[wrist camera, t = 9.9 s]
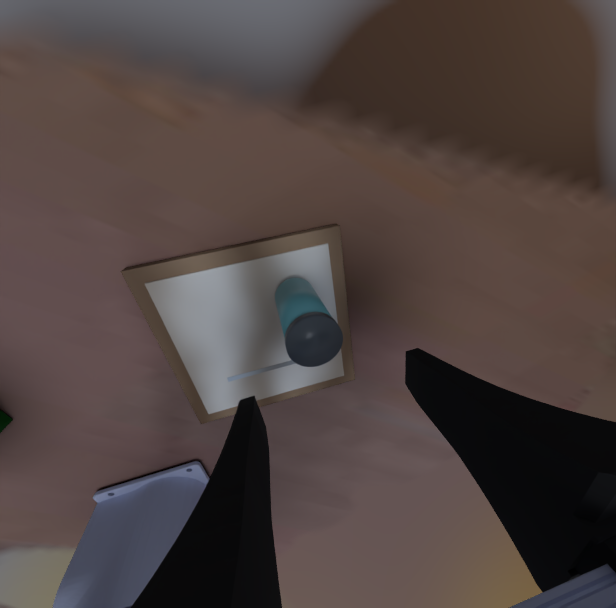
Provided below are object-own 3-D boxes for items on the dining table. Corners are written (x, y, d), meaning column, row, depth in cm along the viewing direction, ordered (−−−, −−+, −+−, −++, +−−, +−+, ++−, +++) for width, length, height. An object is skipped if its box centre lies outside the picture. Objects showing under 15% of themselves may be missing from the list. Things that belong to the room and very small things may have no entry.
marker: (278, 315, 19) (292, 373, 13) (268, 279, 18) (280, 326, 12) (315, 305, 19) (345, 358, 14) (309, 269, 18) (339, 310, 12)
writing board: (202, 416, 23) (200, 426, 22) (126, 267, 16) (119, 272, 15) (351, 373, 24) (355, 381, 24) (335, 223, 18) (340, 226, 17)
